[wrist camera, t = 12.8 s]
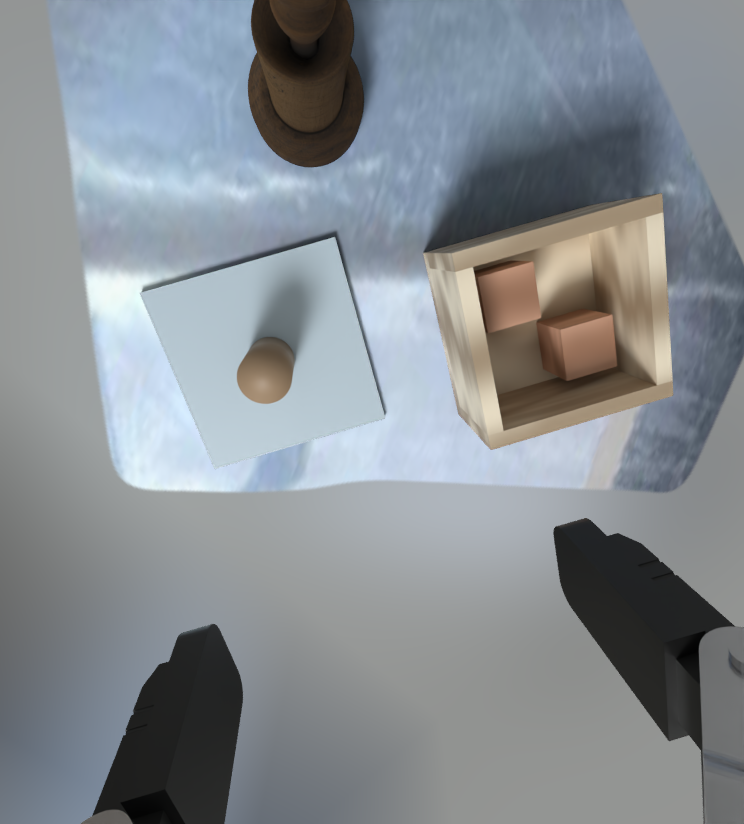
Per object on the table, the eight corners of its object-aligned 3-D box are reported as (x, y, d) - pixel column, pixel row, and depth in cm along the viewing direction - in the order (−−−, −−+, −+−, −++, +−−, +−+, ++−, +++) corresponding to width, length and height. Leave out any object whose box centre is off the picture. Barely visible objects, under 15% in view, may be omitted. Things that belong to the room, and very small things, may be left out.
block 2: (536, 322, 34) (560, 329, 31) (583, 308, 34) (612, 314, 31) (543, 368, 35) (567, 381, 32) (588, 355, 35) (617, 366, 32)
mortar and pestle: (227, 90, 28) (104, -149, 11) (314, 15, 28) (320, -354, 11) (300, 190, 31) (286, 114, 14) (382, 123, 30) (475, -45, 13)
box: (423, 253, 33) (451, 253, 26) (591, 204, 33) (662, 193, 26) (458, 414, 37) (490, 450, 30) (608, 369, 37) (673, 395, 30)
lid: (144, 291, 32) (108, 300, 26) (334, 237, 32) (338, 234, 27) (217, 463, 36) (199, 502, 31) (383, 413, 37) (396, 443, 31)
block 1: (460, 274, 32) (477, 277, 29) (510, 260, 32) (533, 261, 29) (470, 325, 34) (488, 333, 30) (518, 311, 34) (541, 317, 30)
